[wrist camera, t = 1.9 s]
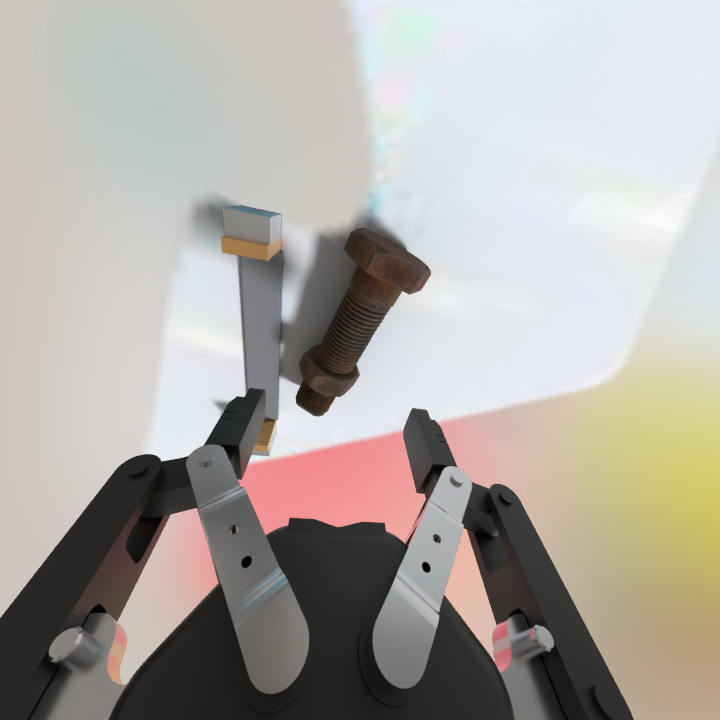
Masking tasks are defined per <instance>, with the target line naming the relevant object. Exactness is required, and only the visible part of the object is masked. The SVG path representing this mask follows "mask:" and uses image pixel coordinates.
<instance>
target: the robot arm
mask: <svg viewBox="0 0 720 720" xmlns="http://www.w3.org/2000/svg"><path fill="white" fill-rule="evenodd" d="M265 412H266V391H265V390H264V389H256V388H249V390H248V392H247V394H246V396H245V397H238V396H237V397H236V398H235V399H233V400H232V401H231V402H229V404H228V405H227V407H226V409H225V410H224V412H223V414H222V415H221V417H220V419H219V421H218V422H217V424H216V426H215V427H214V429H213V431H212V433H211V434H210V436H209V438H208V439H207V441H206V443H205V444H204V446H202V447H200V448H198V449H196V450H195V451H193V452H192V453H191V454H190V455H189V456H187V457H184V458H179V459H174V460H168V461H162V462H161V460H160V458H159V457H157V456H155V455H151V454H145V455H139V456H136V457H133V458H131V459H129V460H127V461H126V462H124V463H123V464H121V465H120V466H119V467H118V468H117V470H115V472H114V473H113V474H112V476H111V477H110V478H109V479H108V481H107V482H106V483H105V485H104V486H103V487H102V489H101V490H100V491H99V492H98V494H97V495H96V496H95V497H94V499H93V500H92V501H91V502H90V504H89V505H88V506H87V508H86V509H85V510H84V511H83V513H82V514H81V515H80V517H79V518H78V519H77V521H76V522H75V523H74V524H73V526H72V527H71V528H70V529H69V531H68V532H67V533H66V535H65V536H64V537H63V539H62V540H61V541H60V542H59V544H58V545H57V546H56V547H55V549H54V550H53V551H52V553H51V554H50V555H49V556H48V558H47V559H46V560H45V562H44V563H43V564H42V566H41V567H40V568H39V569H38V571H37V572H36V573H35V574H34V576H33V577H32V578H31V579H30V581H29V582H28V583H27V585H26V586H25V587H24V588H23V590H22V591H21V592H20V594H19V595H18V596H17V598H16V599H15V600H14V602H13V603H12V604H11V605H10V607H9V608H8V609H7V610H6V611H5V613H4V614H3V615H2V617H1V618H0V720H634V719H633V717H632V714H631V712H630V710H629V708H628V705H627V704H626V702H625V700H624V698H623V696H622V694H621V692H620V690H619V688H618V686H617V684H616V683H615V681H614V679H613V677H612V675H611V673H610V671H609V669H608V667H607V665H606V663H605V662H604V660H603V658H602V656H601V654H600V652H599V650H598V648H597V646H596V644H595V642H594V641H593V639H592V637H591V635H590V633H589V631H588V629H587V627H586V625H585V623H584V622H583V620H582V618H581V616H580V614H579V612H578V610H577V608H576V606H575V604H574V603H573V601H572V599H571V597H570V595H569V593H568V591H567V589H566V587H565V585H564V583H563V581H562V580H561V578H560V576H559V574H558V572H557V570H556V568H555V566H554V564H553V562H552V561H551V559H550V557H549V555H548V553H547V551H546V549H545V547H544V545H543V543H542V542H541V540H540V538H539V536H538V534H537V532H536V530H535V528H534V526H533V524H532V522H531V520H530V519H529V517H528V515H527V513H526V511H525V509H524V507H523V505H522V503H521V501H520V500H519V498H518V497H517V495H516V494H515V493H514V492H513V491H512V490H510V489H509V488H508V487H506V486H504V485H501V484H494V485H492V486H491V487H490V489H488V488H486V487H483V486H480V485H478V484H475V483H473V482H471V480H470V478H469V477H468V475H467V474H466V473H465V472H464V471H462V470H461V469H459V468H458V467H457V466H456V463H455V460H454V458H453V456H452V453H451V451H450V448H449V446H448V444H447V441H446V439H445V437H444V434H443V432H442V429H441V427H440V426H439V425H438V423H437V422H436V421H435V420H431V419H430V417H429V414H428V412H427V410H424V409H416V408H413V409H412V410H411V412H410V414H409V417H408V419H407V422H406V424H405V427H404V432H403V436H404V441H405V445H406V450H407V454H408V458H409V462H410V467H411V471H412V475H413V479H414V483H415V487H416V492H417V493H422V494H425V497H426V500H425V501H424V503H423V505H422V507H421V510H420V512H419V514H418V516H417V518H416V520H415V522H414V524H413V526H412V528H411V530H410V532H409V534H408V536H407V538H406V540H405V542H403V541H401V540H400V539H399V538H398V537H396V536H395V535H393V534H391V533H389V532H387V531H386V529H385V523H375V522H360V523H355V524H351V525H347V526H344V527H335V526H332V525H329V524H326V523H323V522H321V521H318V520H315V519H301V518H290V519H289V524H288V526H284V527H281V528H278V529H276V530H274V531H272V532H270V533H269V534H267V535H265V533H264V531H263V529H262V526H261V524H260V522H259V519H258V517H257V515H256V513H255V510H254V508H253V506H252V504H251V501H250V499H249V497H248V495H247V493H246V491H245V489H244V488H243V487H241V486H240V484H239V482H238V479H241V480H242V478H243V475H244V473H245V470H246V467H247V465H248V462H249V459H250V457H251V454H252V451H253V449H254V446H255V443H256V441H257V438H258V436H259V433H260V430H261V428H262V425H263V422H264V418H265ZM194 508H197V509H198V513H199V516H200V520H201V523H202V526H203V530H204V533H205V537H206V540H207V543H208V547H209V551H210V555H211V558H212V561H213V565H214V568H215V572H216V576H217V579H218V584H217V585H216V587H215V588H214V589H213V590H212V591H211V592H210V593H209V594H208V595H207V596H206V597H205V598H204V599H203V600H202V601H201V602H200V603H199V605H198V606H197V607H196V608H195V609H194V610H193V611H192V612H191V613H190V614H189V615H188V616H187V617H186V618H185V619H184V620H183V621H182V623H181V624H180V625H179V626H178V627H177V628H176V629H175V630H174V631H173V632H172V633H171V634H170V635H169V636H168V637H167V638H166V639H165V641H163V642H162V644H161V645H160V646H159V647H158V648H157V649H156V650H155V651H154V652H153V653H152V654H151V655H150V656H149V657H148V658H147V659H146V661H145V662H144V663H143V664H142V665H141V666H140V668H139V669H138V670H137V671H136V673H135V674H134V675H133V677H132V678H131V679H130V681H129V682H128V684H127V685H122V683H121V680H120V666H121V661H122V658H123V655H124V652H125V649H126V644H127V636H126V632H125V630H124V629H123V628H122V627H121V626H120V625H119V624H118V623H117V621H118V619H119V617H120V615H121V613H122V611H123V609H124V607H125V605H126V603H127V601H128V599H129V597H130V595H131V593H132V591H133V589H134V587H135V584H136V583H137V581H138V579H139V577H140V574H141V573H142V571H143V569H144V566H145V565H146V563H147V561H148V559H149V557H150V555H151V553H152V551H153V549H154V547H155V545H156V543H157V541H158V539H159V537H160V535H161V533H162V531H163V529H164V527H165V525H166V522H167V521H168V519H169V517H170V515H171V514H174V513H178V512H182V511H186V510H190V509H194ZM463 528H465V529H467V532H468V535H469V538H470V542H471V545H472V548H473V551H474V554H475V558H476V561H477V564H478V567H479V570H480V574H481V577H482V580H483V583H484V586H485V589H486V593H487V596H488V599H489V602H490V605H491V609H492V612H493V615H494V618H495V621H496V624H497V626H496V627H495V629H494V631H493V637H492V639H493V647H494V657H495V663H494V661H493V659H492V658H491V656H490V655H489V653H488V652H487V651H486V649H485V648H484V647H483V645H482V644H481V643H480V641H479V640H478V639H477V638H476V636H475V635H474V634H473V632H472V631H471V630H470V628H469V627H468V626H467V624H466V623H465V622H464V620H463V619H462V618H461V616H460V615H459V614H458V612H457V611H456V610H455V608H454V607H453V606H452V604H451V603H450V602H449V600H448V599H447V598H446V596H445V595H444V592H445V589H446V586H447V582H448V579H449V576H450V572H451V568H452V565H453V562H454V559H455V555H456V552H457V548H458V545H459V542H460V538H461V535H462V531H463Z"/></svg>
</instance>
